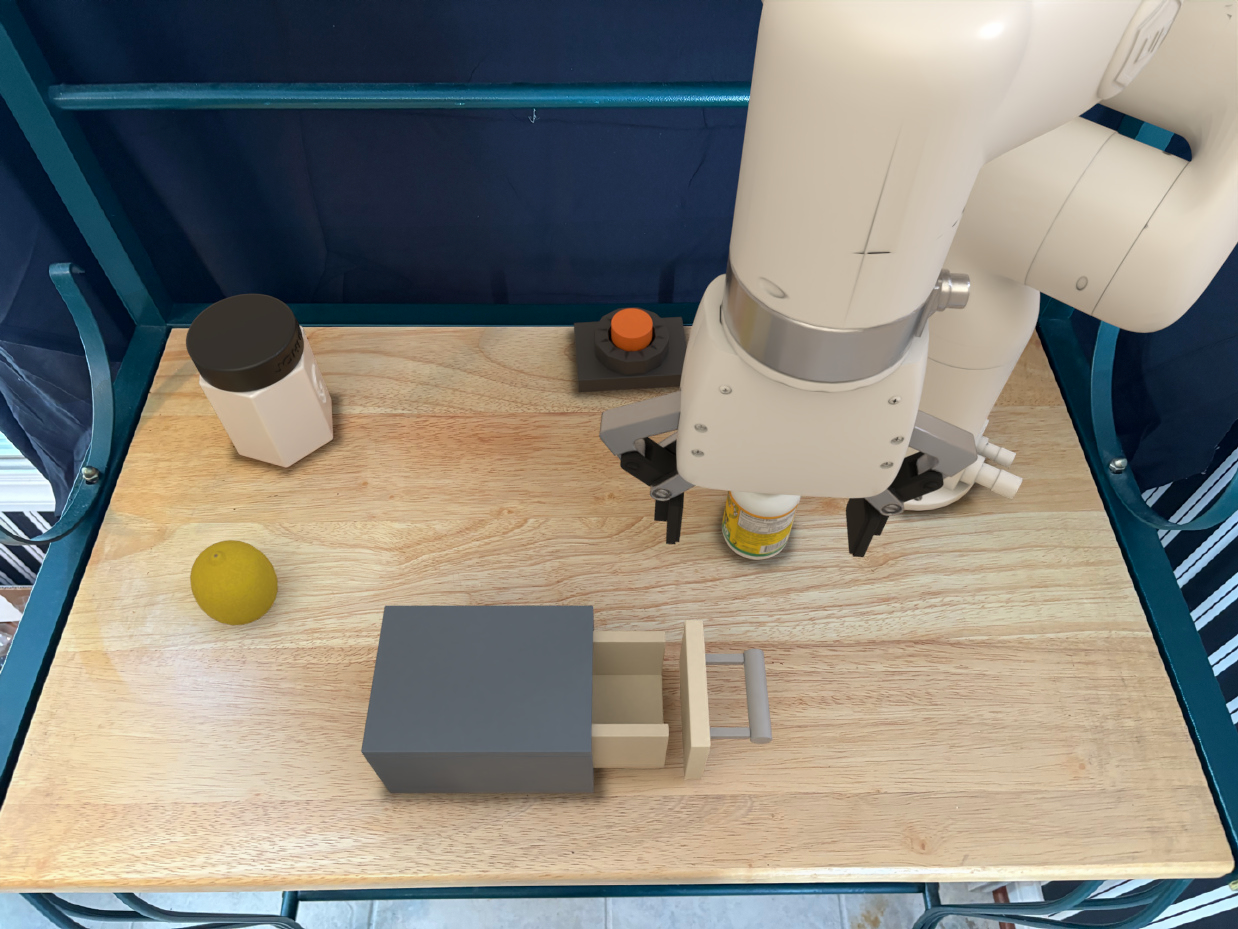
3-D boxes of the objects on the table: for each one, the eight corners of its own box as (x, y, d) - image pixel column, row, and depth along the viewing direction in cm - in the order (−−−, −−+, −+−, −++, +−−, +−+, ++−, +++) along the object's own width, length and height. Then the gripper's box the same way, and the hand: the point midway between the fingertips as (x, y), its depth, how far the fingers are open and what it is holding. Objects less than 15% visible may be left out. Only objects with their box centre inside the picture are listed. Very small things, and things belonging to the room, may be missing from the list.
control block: (680, 329, 85) (683, 302, 82) (690, 386, 81) (693, 359, 78) (574, 335, 85) (572, 308, 82) (578, 393, 81) (577, 366, 78)
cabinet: (595, 658, 66) (593, 605, 59) (593, 793, 61) (591, 752, 54) (408, 658, 66) (384, 605, 59) (389, 793, 61) (360, 752, 54)
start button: (649, 320, 82) (650, 306, 80) (653, 350, 80) (654, 336, 78) (609, 323, 81) (609, 309, 80) (612, 352, 79) (612, 339, 78)
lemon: (272, 648, 67) (235, 598, 60) (202, 634, 67) (157, 583, 61) (302, 583, 70) (270, 528, 63) (235, 570, 70) (196, 514, 64)
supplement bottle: (777, 571, 70) (797, 503, 63) (711, 548, 72) (723, 479, 64) (795, 516, 73) (817, 445, 66) (732, 495, 74) (746, 423, 67)
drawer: (753, 661, 65) (766, 619, 60) (765, 780, 60) (780, 746, 55) (521, 661, 65) (512, 619, 60) (513, 780, 60) (503, 747, 55)
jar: (337, 460, 76) (297, 365, 67) (237, 477, 75) (181, 383, 65) (333, 381, 81) (295, 281, 72) (239, 396, 80) (187, 297, 71)
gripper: (1034, 239, 36) (918, 480, 50) (605, 216, 37) (607, 460, 51) (1074, 382, 32) (935, 602, 46) (587, 353, 33) (595, 578, 47)
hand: (763, 527), depth 49 cm, fingers open, 9 cm apart
